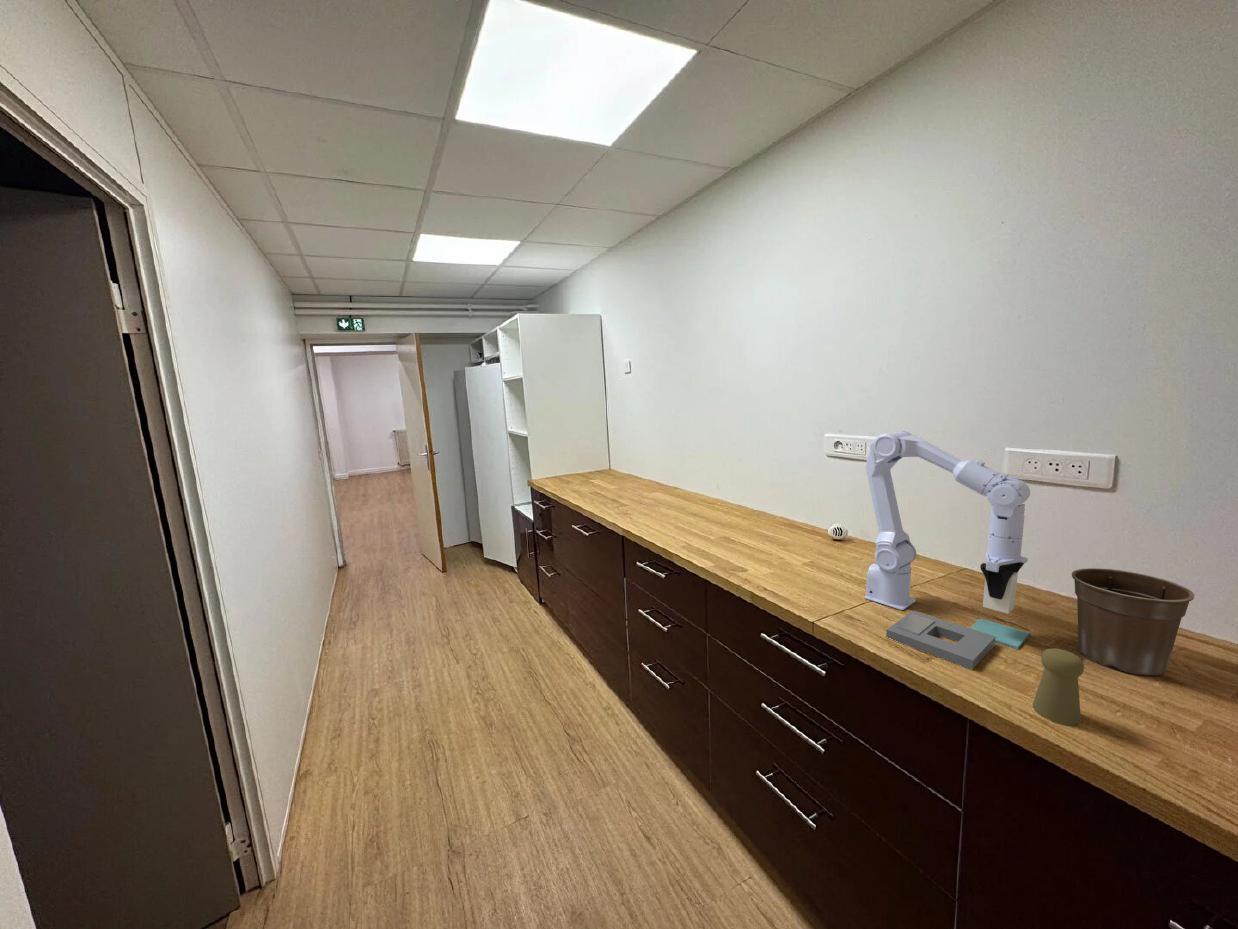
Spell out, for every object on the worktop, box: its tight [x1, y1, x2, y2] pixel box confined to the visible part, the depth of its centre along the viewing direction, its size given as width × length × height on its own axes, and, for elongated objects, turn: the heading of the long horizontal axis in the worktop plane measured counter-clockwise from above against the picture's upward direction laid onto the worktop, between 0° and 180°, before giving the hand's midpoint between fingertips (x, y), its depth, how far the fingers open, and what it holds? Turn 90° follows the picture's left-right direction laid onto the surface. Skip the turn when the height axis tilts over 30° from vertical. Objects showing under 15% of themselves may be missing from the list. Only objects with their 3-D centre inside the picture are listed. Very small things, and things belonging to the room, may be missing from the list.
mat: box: [969, 618, 1030, 650], centre depth 105 cm, size 9×9×1 cm
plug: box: [982, 572, 1019, 615], centre depth 103 cm, size 4×4×8 cm
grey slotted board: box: [885, 610, 996, 670], centre depth 102 cm, size 16×14×2 cm
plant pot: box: [1071, 567, 1195, 676], centre depth 93 cm, size 16×16×16 cm
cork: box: [1032, 648, 1085, 727], centre depth 79 cm, size 6×6×11 cm
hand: (999, 594), depth 103 cm, fingers closed on plug, 4 cm apart
